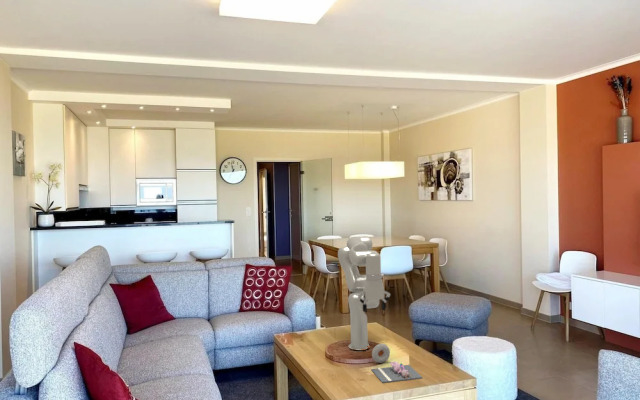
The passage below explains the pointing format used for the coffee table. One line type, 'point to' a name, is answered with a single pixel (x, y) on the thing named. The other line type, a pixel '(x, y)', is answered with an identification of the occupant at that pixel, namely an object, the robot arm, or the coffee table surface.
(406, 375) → the rabbit figure
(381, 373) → the mat
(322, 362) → the coffee table surface
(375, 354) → the donut
